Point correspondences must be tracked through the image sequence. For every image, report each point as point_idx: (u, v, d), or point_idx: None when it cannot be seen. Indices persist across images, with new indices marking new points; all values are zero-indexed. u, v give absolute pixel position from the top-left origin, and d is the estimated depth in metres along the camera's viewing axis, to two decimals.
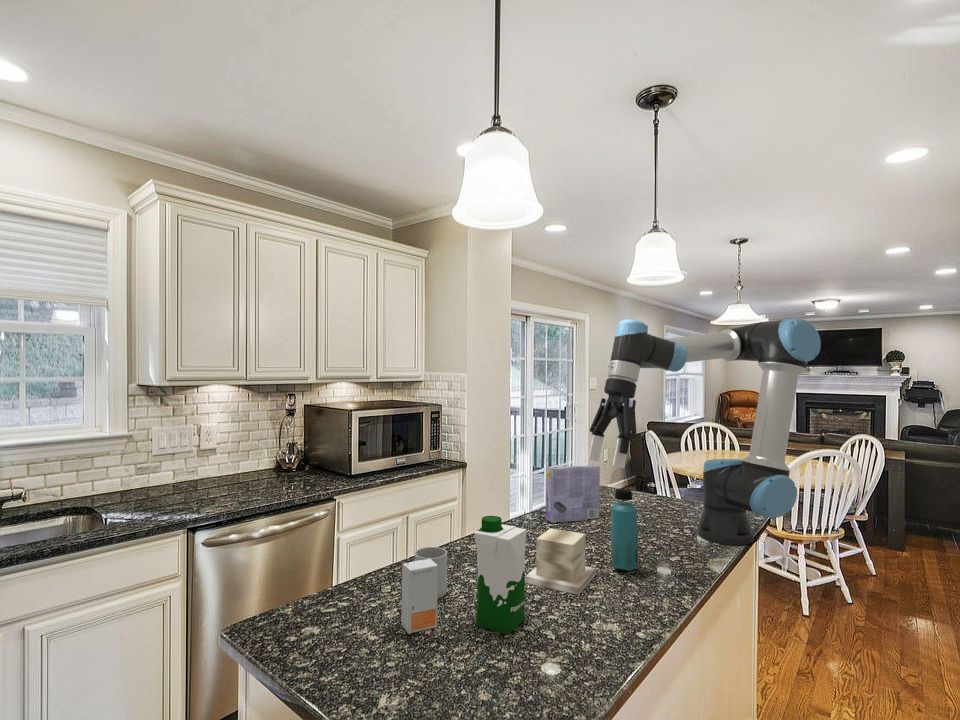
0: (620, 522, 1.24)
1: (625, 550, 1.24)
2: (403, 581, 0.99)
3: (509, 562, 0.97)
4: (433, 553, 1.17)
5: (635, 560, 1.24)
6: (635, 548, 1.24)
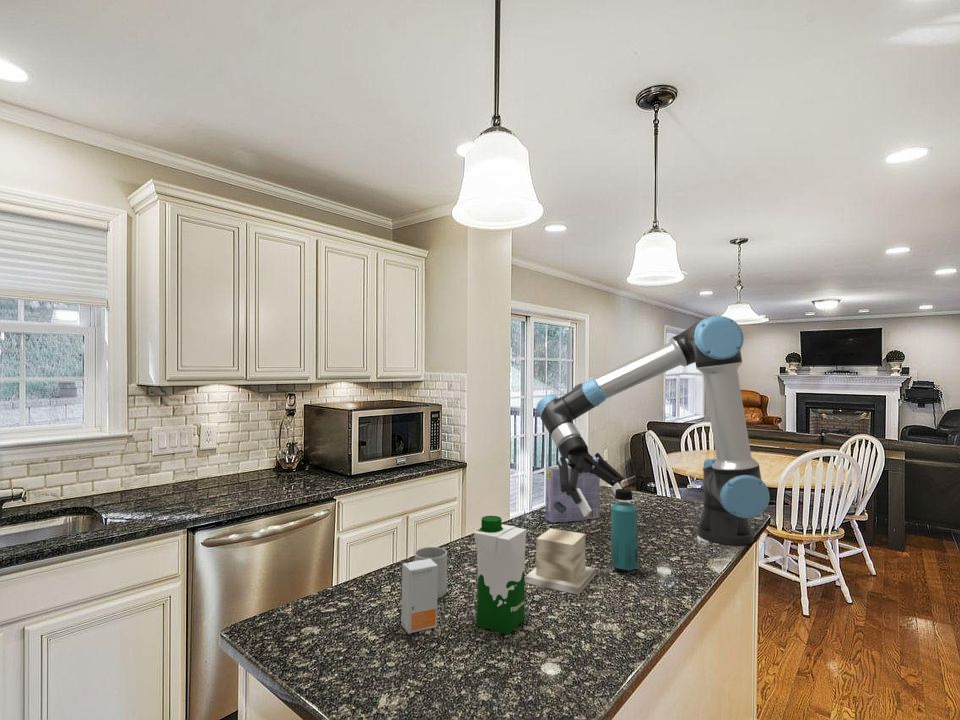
0: (620, 522, 1.24)
1: (625, 550, 1.24)
2: (403, 581, 0.99)
3: (509, 562, 0.97)
4: (433, 553, 1.17)
5: (635, 560, 1.24)
6: (635, 548, 1.24)
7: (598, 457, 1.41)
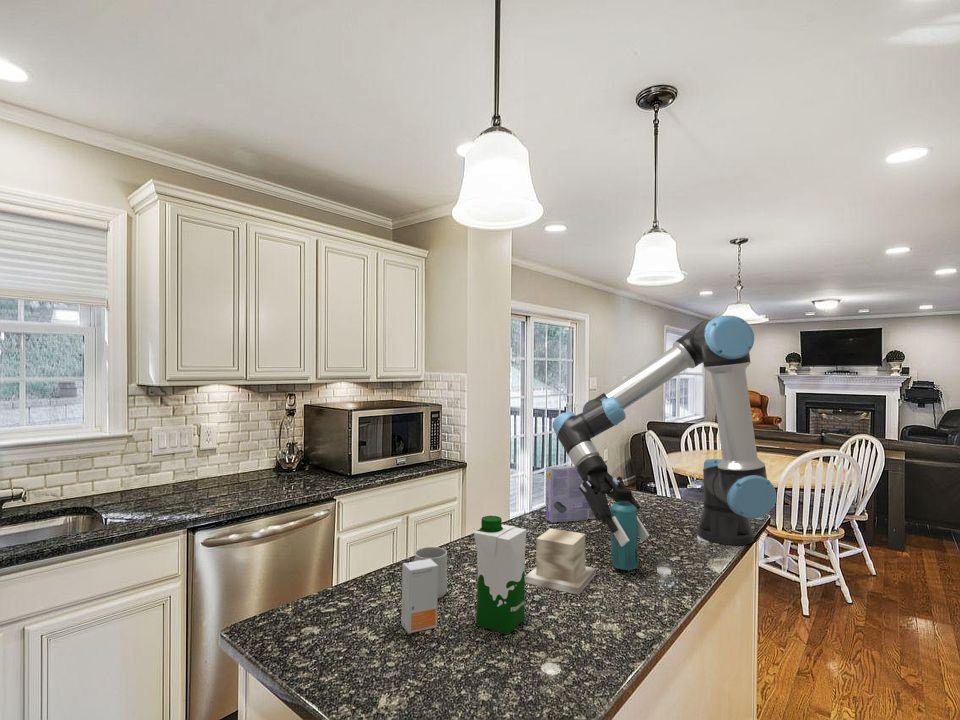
0: (620, 522, 1.24)
1: (625, 550, 1.24)
2: (403, 581, 0.99)
3: (509, 562, 0.97)
4: (433, 553, 1.17)
5: (635, 560, 1.24)
6: (635, 548, 1.24)
7: (619, 480, 1.35)
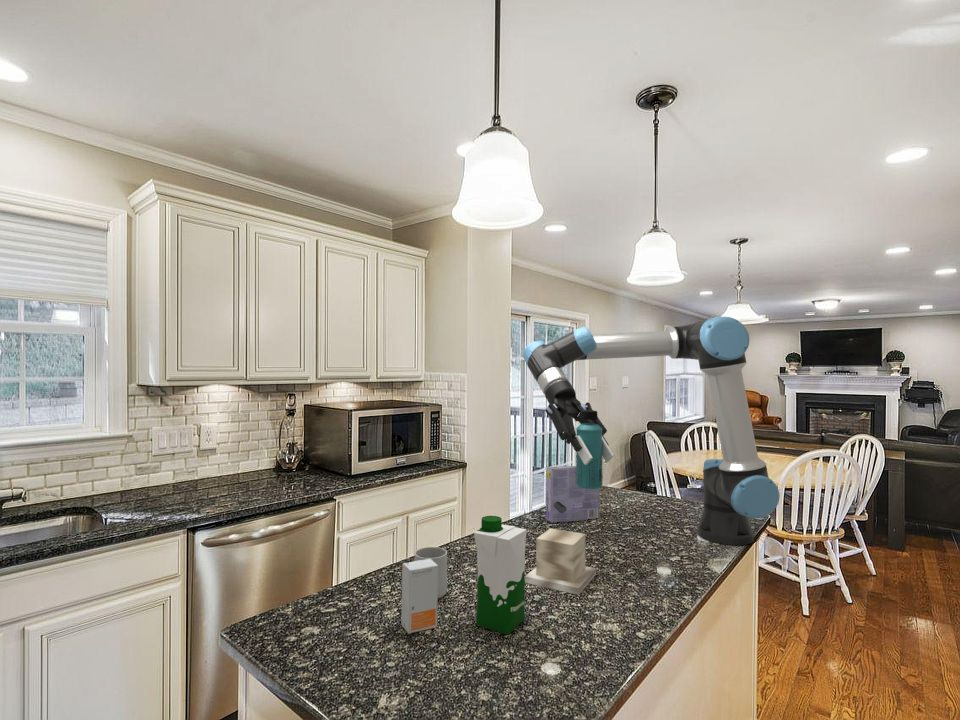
0: (585, 441, 1.23)
1: (589, 469, 1.22)
2: (403, 581, 0.99)
3: (509, 562, 0.97)
4: (433, 553, 1.17)
5: (599, 480, 1.23)
6: (599, 468, 1.23)
7: (587, 406, 1.34)
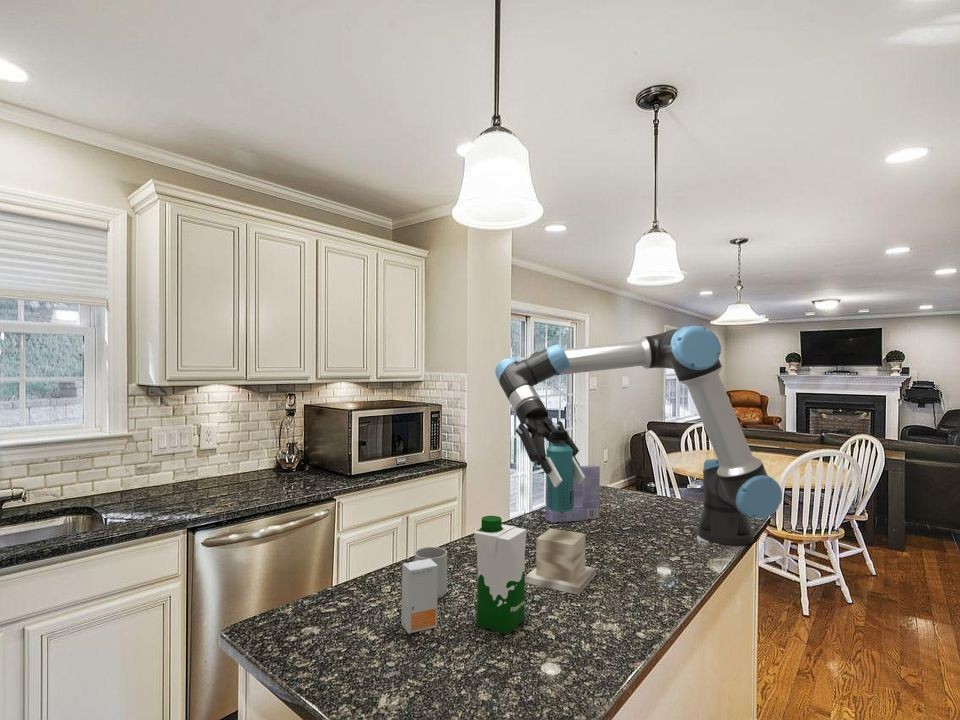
0: (555, 462, 1.20)
1: (559, 491, 1.19)
2: (403, 581, 0.99)
3: (509, 562, 0.97)
4: (433, 553, 1.17)
5: (570, 502, 1.20)
6: (570, 490, 1.20)
7: (559, 425, 1.31)
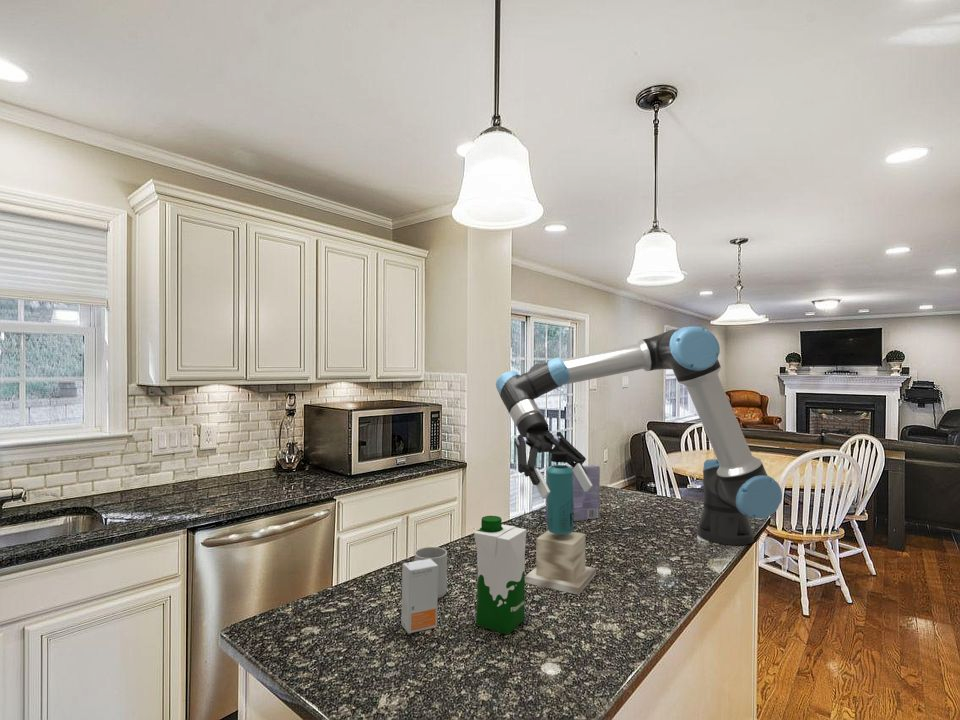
0: (555, 484, 1.20)
1: (560, 514, 1.19)
2: (403, 581, 0.99)
3: (509, 562, 0.97)
4: (433, 553, 1.17)
5: (570, 524, 1.19)
6: (570, 512, 1.20)
7: (560, 436, 1.32)
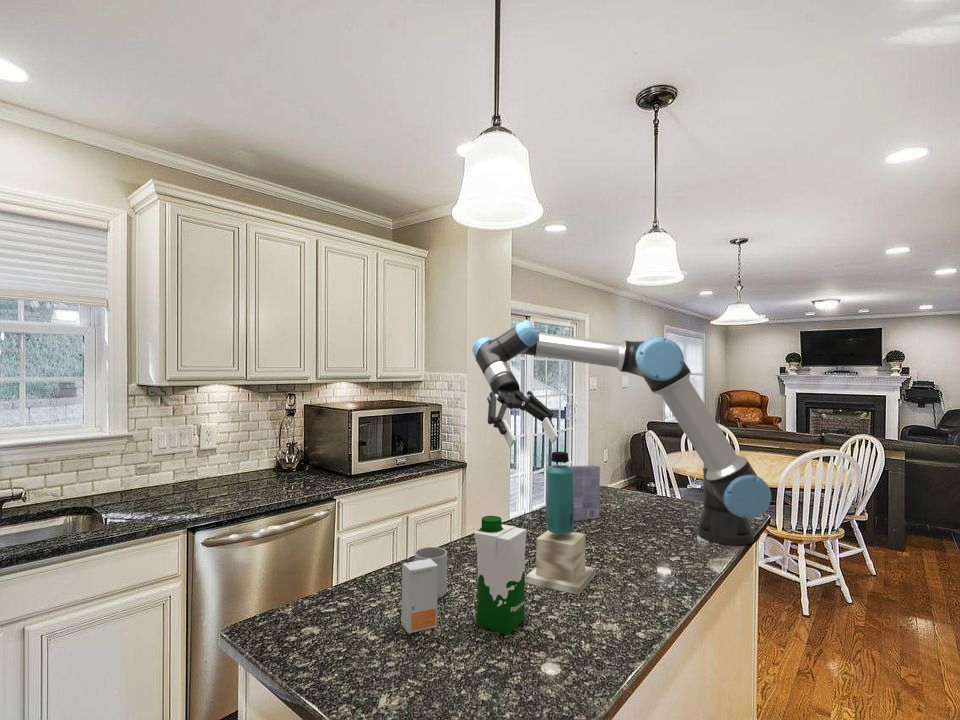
0: (555, 484, 1.20)
1: (560, 514, 1.19)
2: (403, 581, 0.99)
3: (509, 562, 0.97)
4: (433, 553, 1.17)
5: (570, 524, 1.19)
6: (570, 512, 1.20)
7: (529, 394, 1.43)
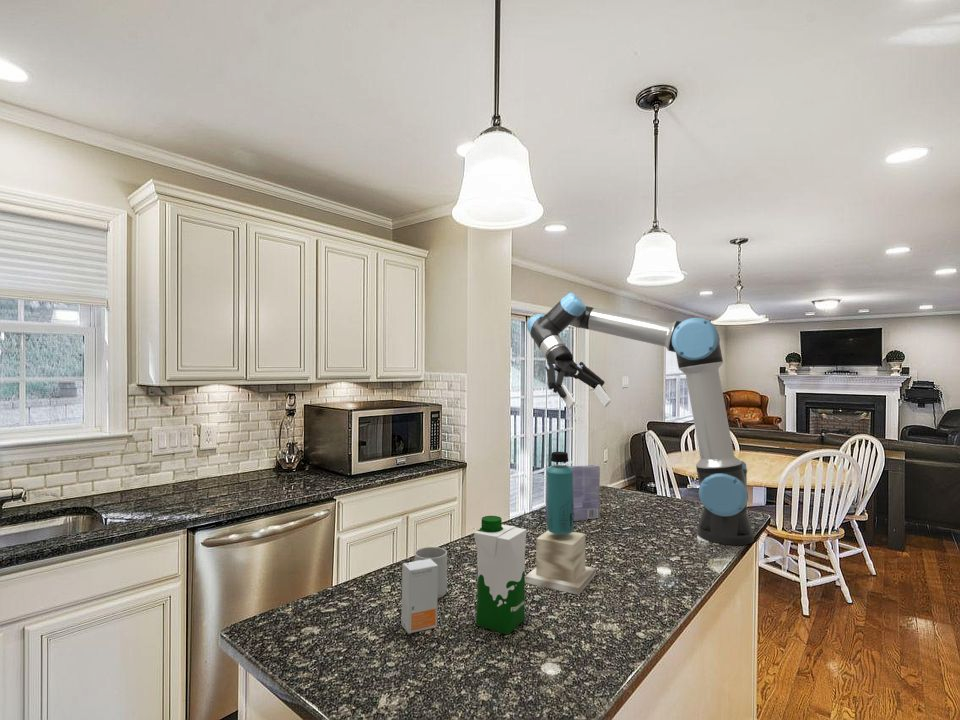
0: (555, 484, 1.20)
1: (560, 513, 1.19)
2: (403, 581, 0.99)
3: (509, 562, 0.97)
4: (433, 553, 1.17)
5: (570, 524, 1.19)
6: (570, 512, 1.20)
7: (582, 365, 1.58)
